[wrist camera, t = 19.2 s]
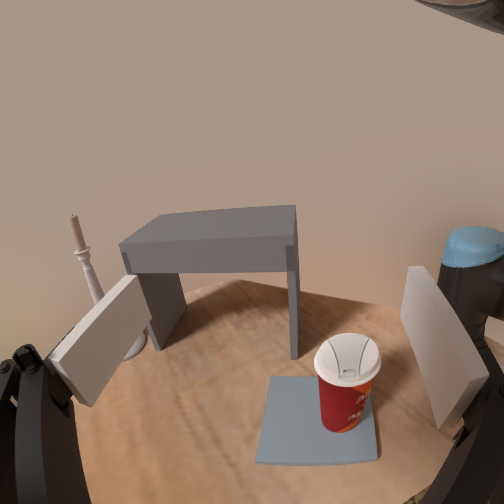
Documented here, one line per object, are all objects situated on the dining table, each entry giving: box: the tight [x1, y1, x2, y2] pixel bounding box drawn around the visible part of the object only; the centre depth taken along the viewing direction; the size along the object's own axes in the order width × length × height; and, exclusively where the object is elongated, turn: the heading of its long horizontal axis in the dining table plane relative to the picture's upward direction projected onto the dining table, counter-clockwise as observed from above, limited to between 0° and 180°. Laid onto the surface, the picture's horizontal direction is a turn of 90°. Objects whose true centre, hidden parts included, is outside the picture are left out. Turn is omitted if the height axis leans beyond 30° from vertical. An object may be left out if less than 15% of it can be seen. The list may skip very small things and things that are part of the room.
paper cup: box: [314, 333, 381, 433], centre depth 30 cm, size 8×8×14 cm
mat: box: [256, 376, 378, 466], centre depth 34 cm, size 16×16×1 cm
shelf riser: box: [119, 205, 300, 359], centre depth 52 cm, size 28×16×24 cm, turn 80°
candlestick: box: [68, 215, 146, 363], centre depth 48 cm, size 13×13×30 cm
